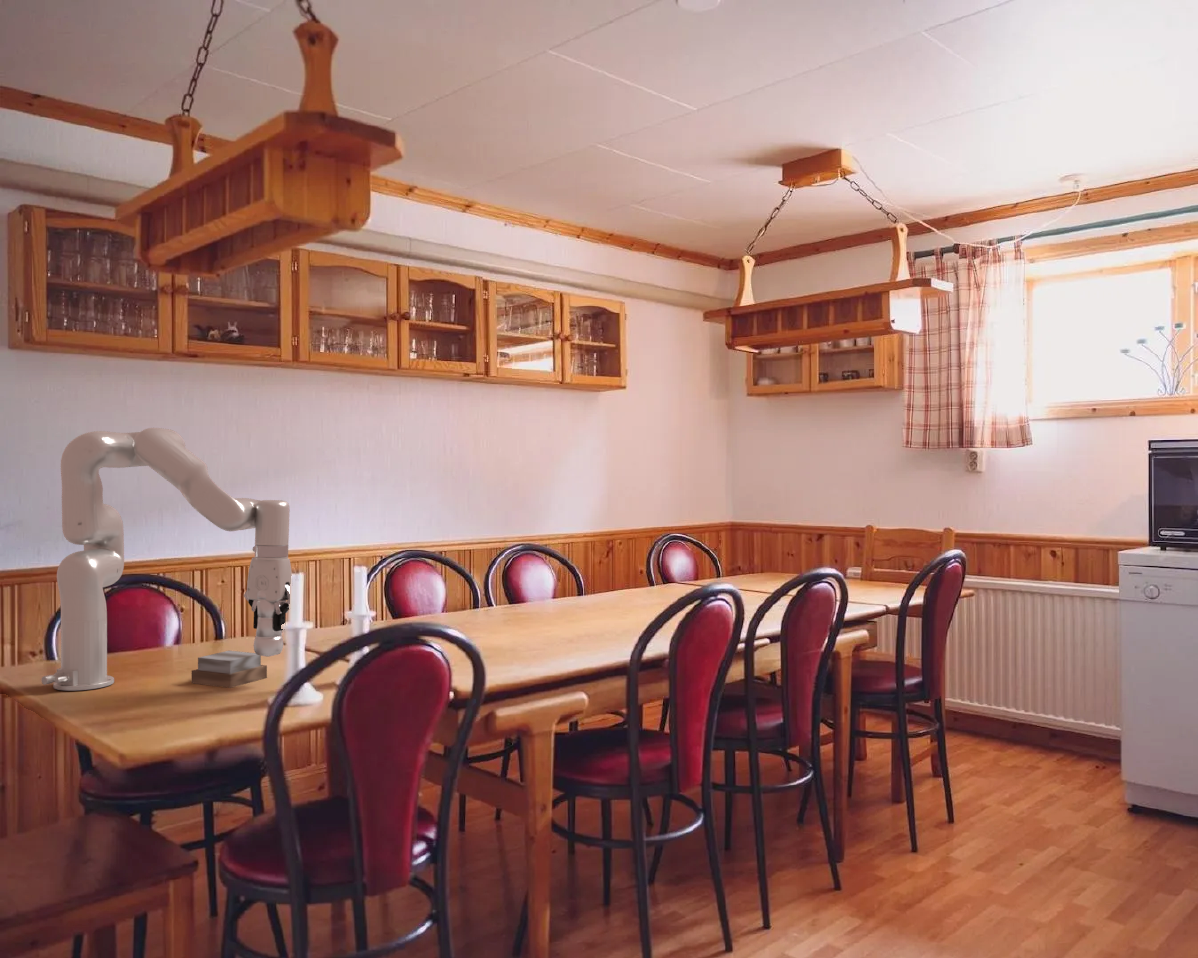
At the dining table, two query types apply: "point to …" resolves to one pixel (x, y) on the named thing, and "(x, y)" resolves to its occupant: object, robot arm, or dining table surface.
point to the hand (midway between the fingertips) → (269, 628)
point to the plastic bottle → (267, 628)
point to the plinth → (229, 677)
